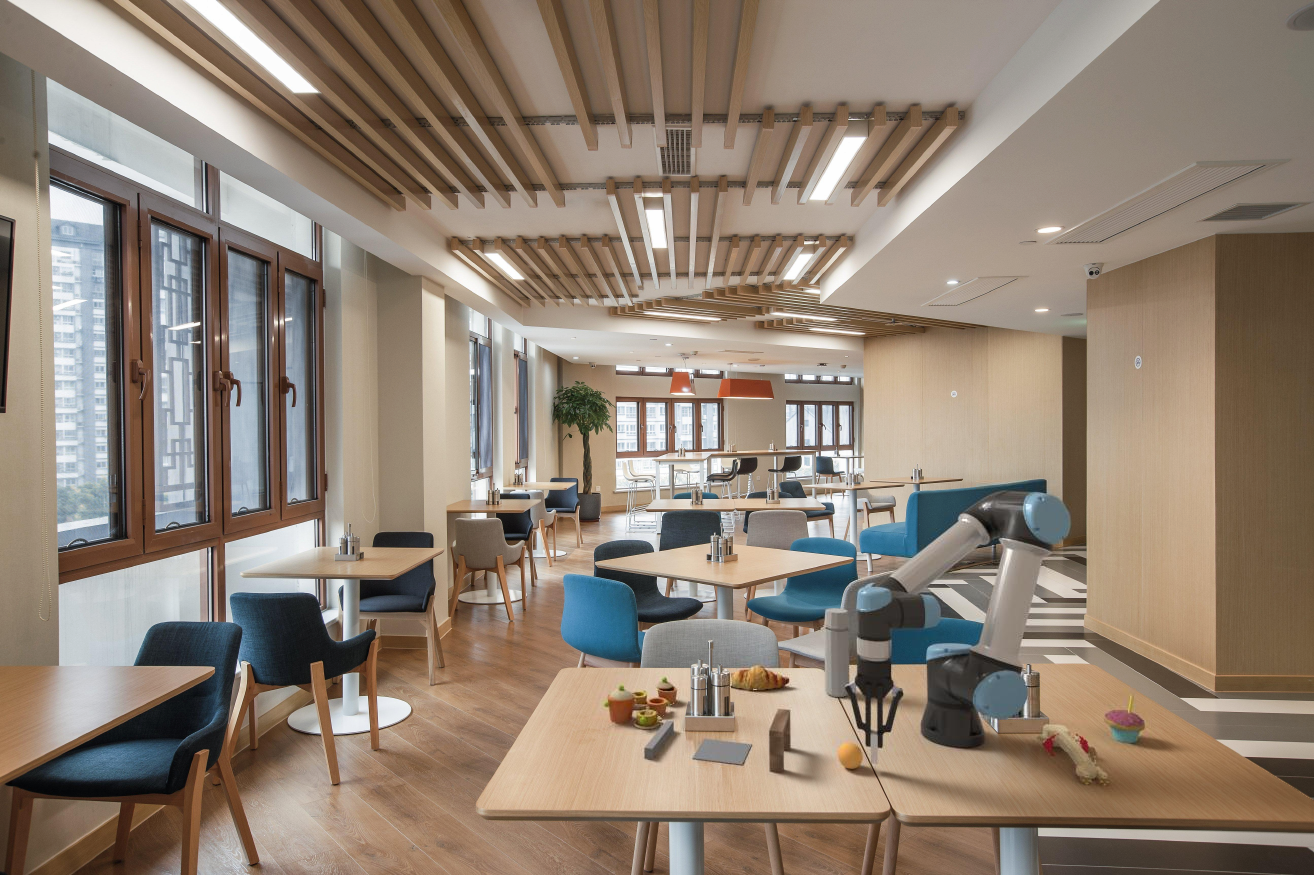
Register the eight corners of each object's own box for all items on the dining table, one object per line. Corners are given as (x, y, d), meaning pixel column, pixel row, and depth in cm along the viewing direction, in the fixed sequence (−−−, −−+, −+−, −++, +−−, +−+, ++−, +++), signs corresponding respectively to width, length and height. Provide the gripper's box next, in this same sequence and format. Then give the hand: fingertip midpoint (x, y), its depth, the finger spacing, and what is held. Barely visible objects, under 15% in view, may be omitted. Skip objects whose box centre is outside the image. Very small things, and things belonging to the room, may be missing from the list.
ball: (863, 764, 164) (862, 740, 164) (862, 774, 159) (862, 749, 159) (838, 761, 165) (838, 737, 166) (837, 771, 160) (837, 746, 160)
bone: (1120, 792, 152) (1071, 737, 177) (1121, 753, 152) (1071, 703, 176) (1070, 789, 154) (1028, 735, 178) (1071, 751, 153) (1029, 701, 178)
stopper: (673, 731, 184) (673, 721, 184) (652, 759, 167) (652, 748, 167) (666, 730, 185) (666, 720, 185) (644, 758, 168) (644, 747, 168)
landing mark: (751, 745, 175) (751, 744, 175) (742, 765, 164) (742, 764, 164) (704, 739, 179) (704, 738, 179) (692, 758, 167) (692, 758, 167)
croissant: (720, 699, 218) (719, 680, 215) (721, 675, 227) (720, 656, 224) (790, 700, 216) (790, 681, 212) (788, 676, 225) (788, 657, 221)
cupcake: (1141, 736, 179) (1140, 688, 179) (1148, 749, 171) (1147, 699, 172) (1102, 731, 183) (1100, 684, 183) (1107, 743, 175) (1106, 694, 175)
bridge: (790, 747, 173) (790, 709, 174) (782, 773, 160) (782, 731, 160) (778, 746, 174) (778, 708, 174) (769, 771, 160) (769, 730, 161)
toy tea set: (654, 734, 183) (654, 696, 183) (599, 726, 188) (599, 690, 189) (684, 701, 208) (684, 668, 208) (635, 695, 213) (635, 663, 213)
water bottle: (851, 699, 208) (850, 613, 208) (824, 697, 209) (823, 612, 210) (849, 689, 217) (848, 607, 217) (823, 687, 218) (822, 606, 219)
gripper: (903, 654, 163) (903, 758, 162) (845, 649, 166) (844, 751, 166) (905, 663, 155) (905, 772, 155) (844, 658, 159) (843, 764, 158)
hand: (874, 761), depth 160 cm, fingers closed
